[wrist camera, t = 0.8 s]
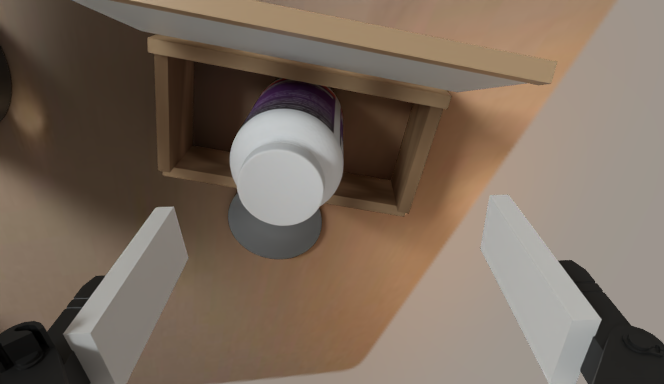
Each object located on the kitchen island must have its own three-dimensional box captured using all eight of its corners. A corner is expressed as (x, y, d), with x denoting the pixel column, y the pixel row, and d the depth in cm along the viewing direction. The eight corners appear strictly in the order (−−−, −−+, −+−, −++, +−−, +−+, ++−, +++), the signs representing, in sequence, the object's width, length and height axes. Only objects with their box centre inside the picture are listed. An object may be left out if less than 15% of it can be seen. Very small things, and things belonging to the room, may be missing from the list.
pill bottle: (241, 97, 37) (187, 165, 24) (316, 55, 35) (301, 104, 22) (286, 167, 40) (260, 258, 28) (358, 132, 38) (365, 213, 26)
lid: (6, -25, 15) (6, -50, 15) (140, 33, 27) (142, 19, 27) (551, 83, 17) (557, 61, 17) (456, 94, 28) (459, 81, 28)
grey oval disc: (227, 248, 46) (225, 251, 45) (232, 170, 41) (230, 173, 40) (313, 262, 46) (313, 265, 46) (329, 187, 41) (329, 190, 41)
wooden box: (182, 152, 40) (153, 186, 34) (182, 25, 34) (147, 37, 28) (397, 190, 41) (407, 229, 35) (433, 74, 36) (451, 96, 29)
